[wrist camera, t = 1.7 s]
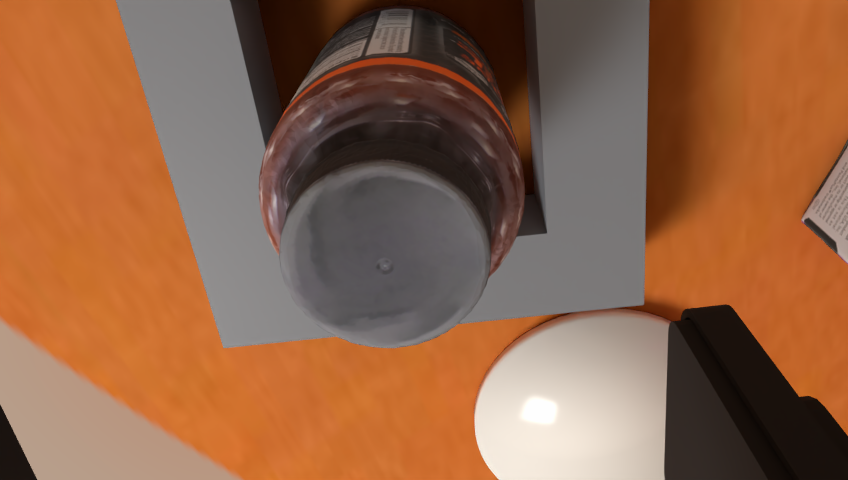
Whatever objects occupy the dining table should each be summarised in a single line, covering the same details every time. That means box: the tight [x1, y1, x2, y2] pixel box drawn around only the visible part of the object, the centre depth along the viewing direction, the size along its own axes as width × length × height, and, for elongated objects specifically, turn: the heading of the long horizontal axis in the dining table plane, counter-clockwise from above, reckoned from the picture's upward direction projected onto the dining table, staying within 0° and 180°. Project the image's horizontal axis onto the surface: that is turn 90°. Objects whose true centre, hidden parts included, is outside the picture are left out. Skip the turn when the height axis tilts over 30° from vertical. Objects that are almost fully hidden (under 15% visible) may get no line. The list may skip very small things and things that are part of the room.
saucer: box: [474, 308, 672, 480], centre depth 29 cm, size 10×10×1 cm
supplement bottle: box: [259, 5, 525, 348], centre depth 18 cm, size 6×6×11 cm
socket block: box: [116, 0, 649, 348], centre depth 22 cm, size 14×14×3 cm
